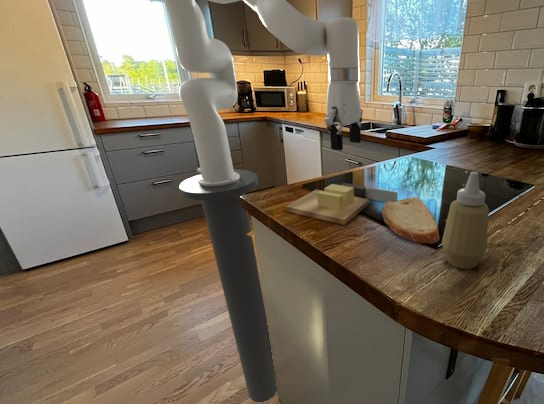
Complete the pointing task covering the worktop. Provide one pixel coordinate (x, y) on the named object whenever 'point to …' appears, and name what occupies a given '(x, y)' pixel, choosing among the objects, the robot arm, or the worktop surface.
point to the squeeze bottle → (466, 226)
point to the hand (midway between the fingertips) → (346, 145)
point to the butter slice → (330, 200)
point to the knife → (372, 193)
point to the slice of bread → (411, 220)
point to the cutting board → (327, 209)
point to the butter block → (342, 192)
